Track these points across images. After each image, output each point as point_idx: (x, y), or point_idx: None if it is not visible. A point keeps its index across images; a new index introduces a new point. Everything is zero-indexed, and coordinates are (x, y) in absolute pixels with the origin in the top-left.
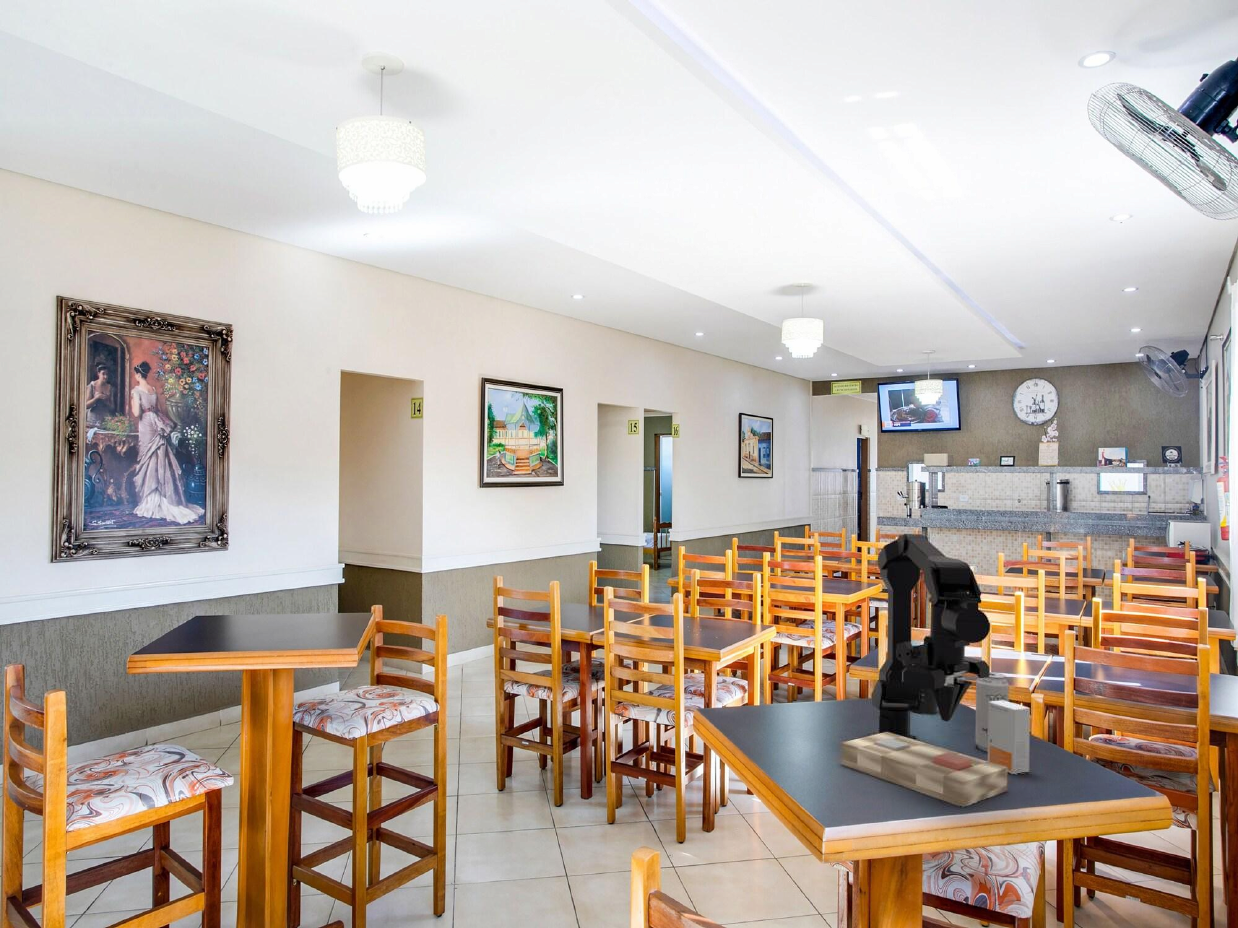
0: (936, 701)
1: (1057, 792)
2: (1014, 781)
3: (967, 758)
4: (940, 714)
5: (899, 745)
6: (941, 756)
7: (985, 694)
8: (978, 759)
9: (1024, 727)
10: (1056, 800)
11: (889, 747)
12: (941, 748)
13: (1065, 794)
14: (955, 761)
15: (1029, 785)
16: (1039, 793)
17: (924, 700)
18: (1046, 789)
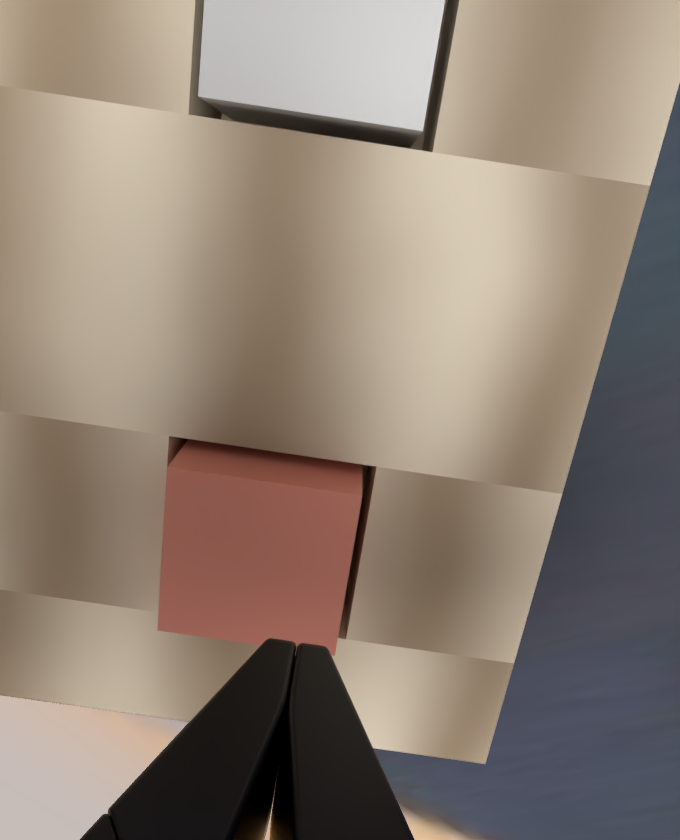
0: (105, 821)
1: (629, 803)
2: (654, 647)
3: (333, 632)
4: (236, 676)
5: (299, 83)
6: (217, 503)
7: None
8: (514, 614)
9: None
10: (509, 821)
11: (207, 24)
12: (588, 344)
13: (626, 828)
14: (192, 606)
15: (642, 707)
16: (551, 760)
17: None
18: (638, 766)
